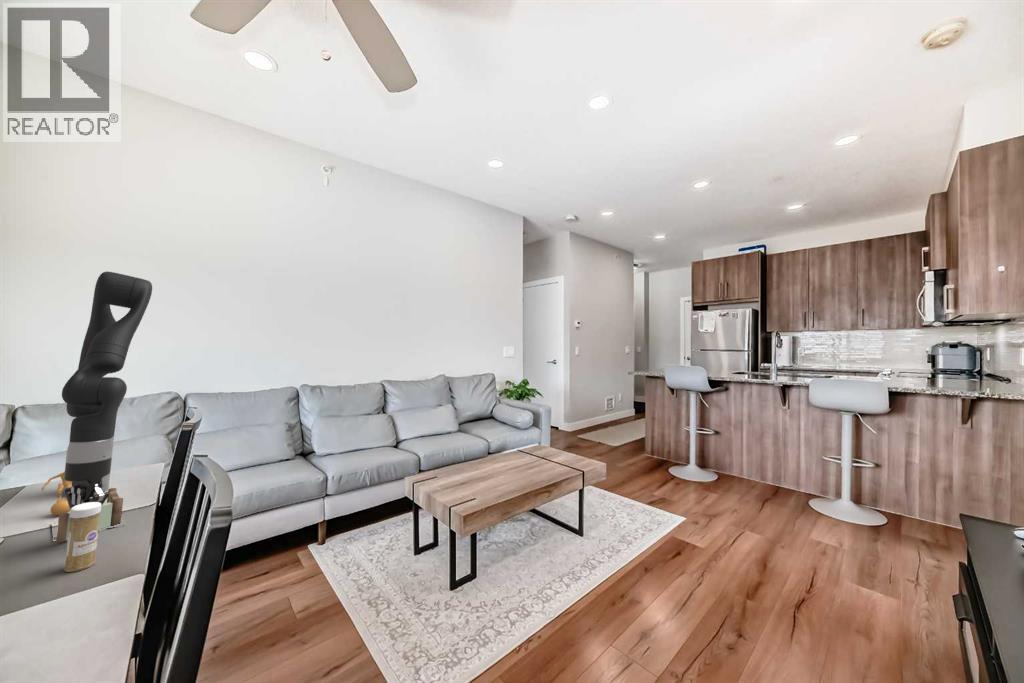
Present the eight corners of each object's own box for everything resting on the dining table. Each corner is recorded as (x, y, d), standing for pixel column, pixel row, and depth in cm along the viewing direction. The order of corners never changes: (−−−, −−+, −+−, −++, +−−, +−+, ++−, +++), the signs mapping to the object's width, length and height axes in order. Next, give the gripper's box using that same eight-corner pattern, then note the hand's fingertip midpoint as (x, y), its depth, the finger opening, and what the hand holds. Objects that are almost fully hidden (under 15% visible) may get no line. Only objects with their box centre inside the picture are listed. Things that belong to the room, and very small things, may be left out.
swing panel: (107, 524, 98) (109, 501, 98) (110, 526, 97) (113, 502, 97) (54, 541, 89) (57, 515, 89) (58, 543, 88) (61, 516, 88)
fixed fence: (104, 513, 104) (106, 489, 104) (114, 510, 106) (117, 487, 106) (110, 527, 97) (112, 501, 97) (121, 524, 99) (123, 499, 99)
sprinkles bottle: (83, 572, 79) (89, 509, 80) (56, 573, 78) (63, 510, 79) (101, 560, 84) (107, 500, 84) (76, 561, 83) (83, 501, 83)
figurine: (35, 521, 98) (40, 476, 98) (41, 513, 102) (45, 469, 103) (82, 513, 103) (87, 470, 104) (86, 506, 108) (90, 465, 108)
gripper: (126, 457, 93) (120, 527, 92) (93, 450, 97) (87, 517, 96) (84, 465, 86) (77, 541, 85) (51, 458, 89) (44, 530, 89)
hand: (82, 528), depth 90 cm, fingers closed
